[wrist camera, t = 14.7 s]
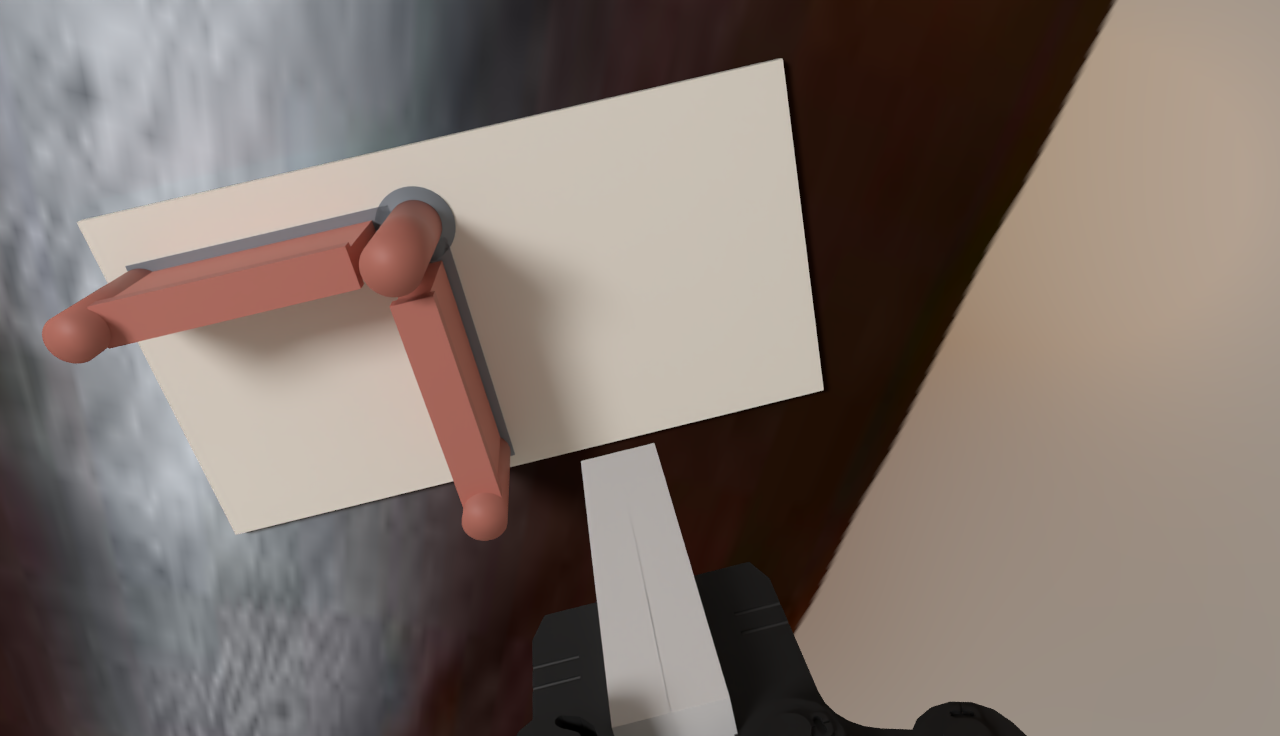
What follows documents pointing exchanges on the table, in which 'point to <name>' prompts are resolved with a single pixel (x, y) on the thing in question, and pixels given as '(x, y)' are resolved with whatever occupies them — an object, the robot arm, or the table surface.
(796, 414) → the table surface
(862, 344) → the table surface
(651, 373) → the card
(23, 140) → the table surface
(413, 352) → the red wall panel
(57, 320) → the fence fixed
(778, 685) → the robot arm
